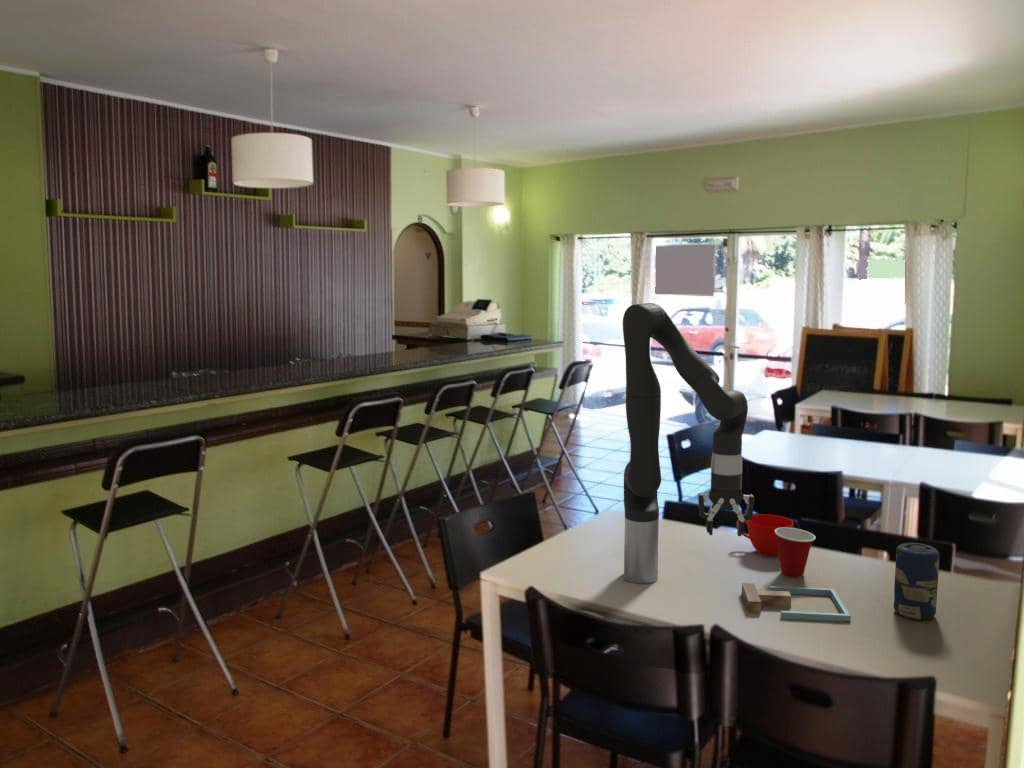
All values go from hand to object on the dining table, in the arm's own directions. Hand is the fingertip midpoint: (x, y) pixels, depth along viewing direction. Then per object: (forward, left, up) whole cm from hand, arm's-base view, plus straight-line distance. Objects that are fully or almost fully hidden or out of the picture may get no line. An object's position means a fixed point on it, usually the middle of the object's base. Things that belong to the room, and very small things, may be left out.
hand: (725, 534), depth 208 cm
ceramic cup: (+16, +40, -18) cm, 46 cm away
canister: (+45, -2, -18) cm, 49 cm away
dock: (+20, 0, -18) cm, 27 cm away
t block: (+11, 0, -18) cm, 21 cm away
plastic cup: (+21, +22, -18) cm, 36 cm away
